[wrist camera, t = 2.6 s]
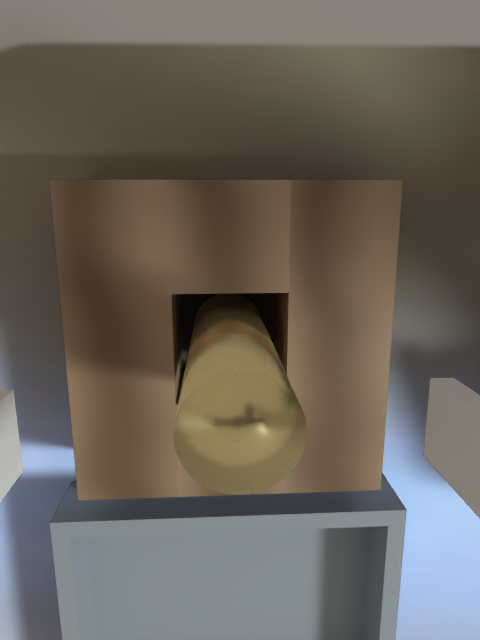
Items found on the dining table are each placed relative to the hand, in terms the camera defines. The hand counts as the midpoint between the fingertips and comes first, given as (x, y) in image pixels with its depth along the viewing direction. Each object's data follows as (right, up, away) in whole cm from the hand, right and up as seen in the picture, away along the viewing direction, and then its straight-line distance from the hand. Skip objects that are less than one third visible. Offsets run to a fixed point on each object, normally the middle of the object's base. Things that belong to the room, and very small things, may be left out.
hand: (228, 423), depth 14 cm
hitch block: (0, +3, +13) cm, 13 cm away
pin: (0, +3, +13) cm, 13 cm away
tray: (0, -15, +17) cm, 22 cm away
